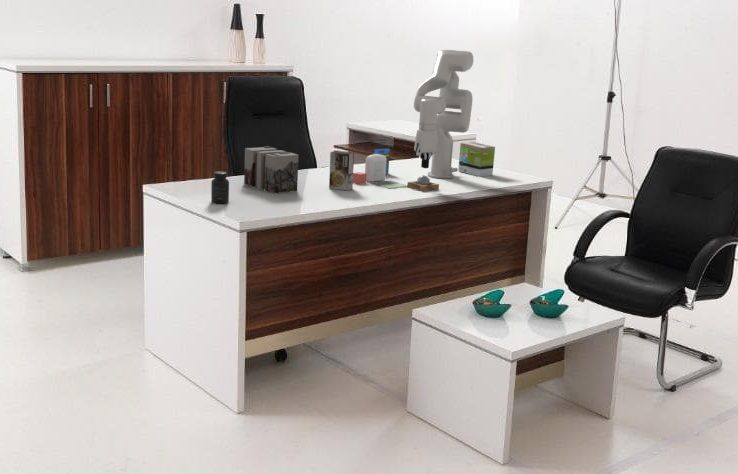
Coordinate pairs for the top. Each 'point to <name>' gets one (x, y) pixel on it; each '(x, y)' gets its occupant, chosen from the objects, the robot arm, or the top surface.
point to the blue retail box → (385, 153)
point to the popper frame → (423, 186)
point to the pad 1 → (383, 182)
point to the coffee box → (341, 170)
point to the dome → (423, 180)
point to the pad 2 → (394, 185)
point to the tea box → (476, 159)
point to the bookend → (271, 169)
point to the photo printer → (375, 167)
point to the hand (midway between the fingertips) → (424, 167)
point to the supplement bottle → (220, 188)
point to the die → (359, 178)
